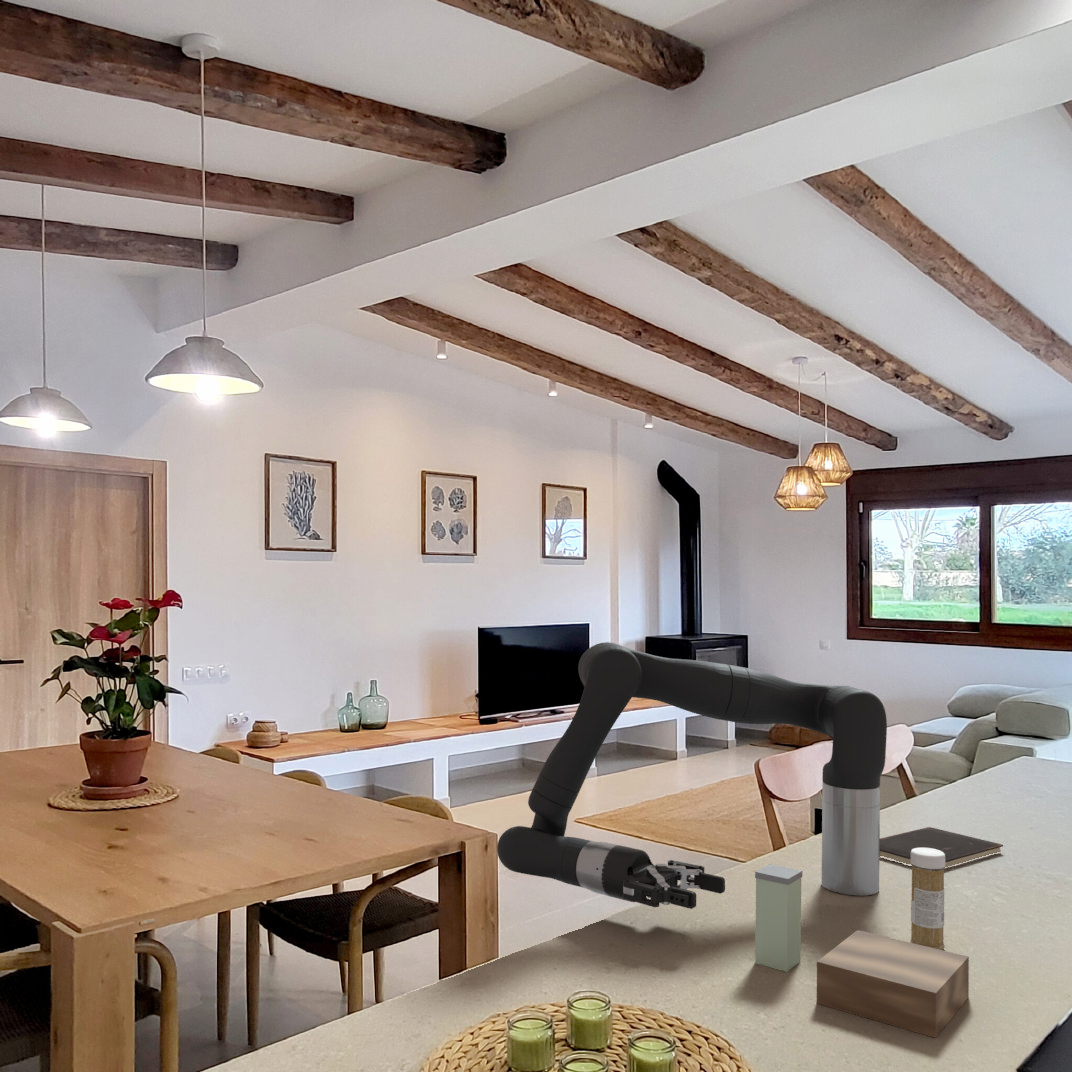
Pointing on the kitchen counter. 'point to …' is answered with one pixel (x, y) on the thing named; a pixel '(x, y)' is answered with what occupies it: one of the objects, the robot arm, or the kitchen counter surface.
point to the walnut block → (894, 982)
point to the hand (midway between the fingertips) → (710, 893)
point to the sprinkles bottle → (927, 897)
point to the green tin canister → (778, 917)
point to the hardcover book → (936, 845)
